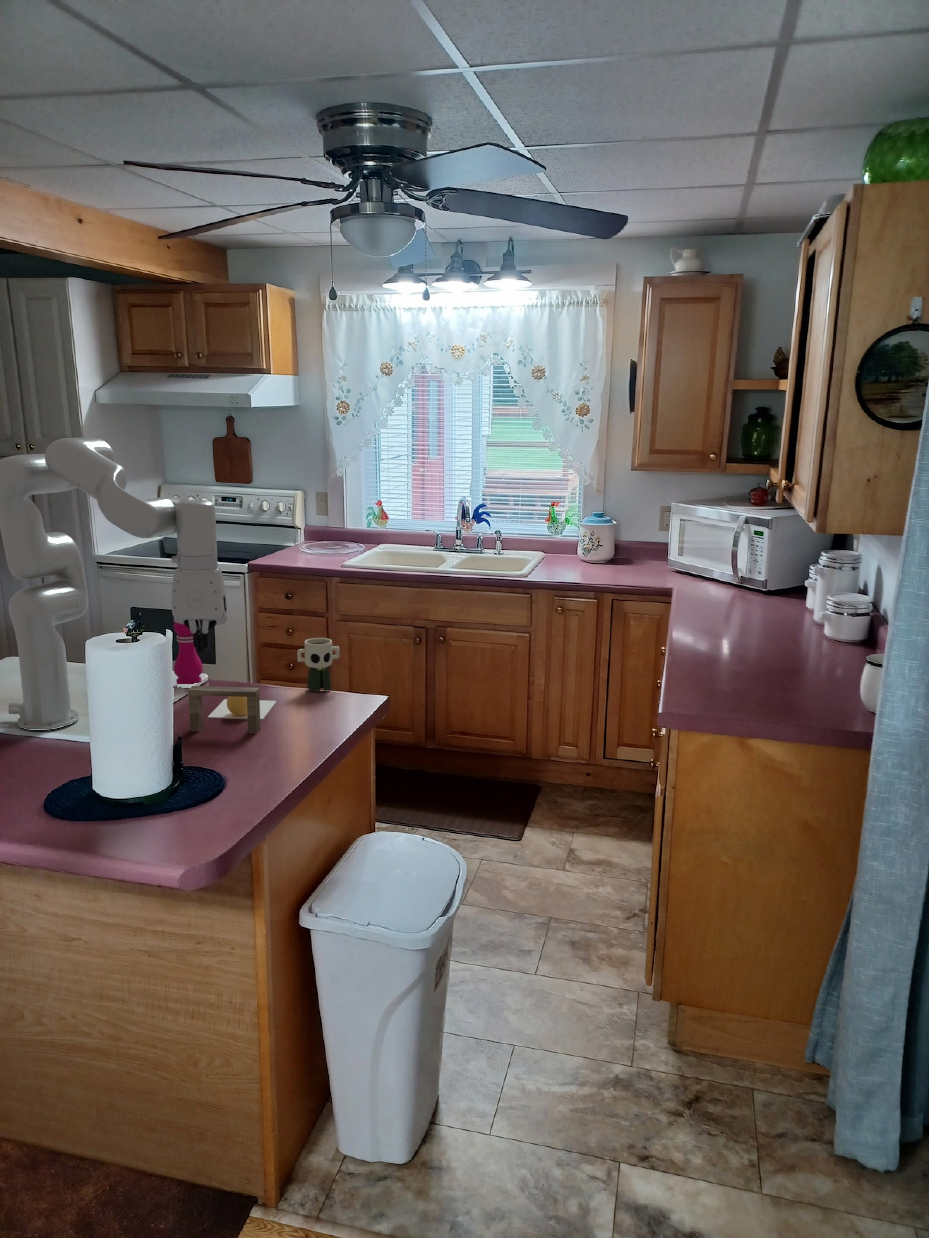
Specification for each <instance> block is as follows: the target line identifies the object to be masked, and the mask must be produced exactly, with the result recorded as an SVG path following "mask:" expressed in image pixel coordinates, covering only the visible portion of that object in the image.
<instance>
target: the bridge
mask: <svg viewBox="0 0 929 1238" xmlns="http://www.w3.org/2000/svg"><path fill="white" fill-rule="evenodd" d="M187 691H188V707H189V726H190V729H189V730H190V732H200V731H202V729H203V728H204V727H205V723H204V708H203V707H204V706H203V705H204V704H203V696H208V697H209V696H210V697H211V696H212V697H214V696H215V697H229V696H232V697H247V716H248V719H247V734H258V733H259V732H260V730H261V719H260V700H261V699H260V688H259V687H245V686H244V687H242V686H239V687H238V686H215V685H213V686H211V685H201V686H192V687H191V688H190V689H187Z"/></svg>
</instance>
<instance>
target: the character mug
mask: <svg viewBox="0 0 929 1238" xmlns="http://www.w3.org/2000/svg"><path fill="white" fill-rule="evenodd" d="M333 651H335V655H333ZM303 653H304V657H302V654H303ZM296 654H297V662H299V663H302V662H304V663H305V665H306V666H307V667H309V669H308V673H307V682H306V688H307V689H308V691H312V692H321V689H322V690H323V691H324V692H325V691H329V690H331V688H332V683H331V682H332V680H331V673H330V668H329V667H330V666H331V665H332V663H333V660H338V659H339V658H340V646H338V645H336V646H335V645H334V646H333V641H332V639H330V638H327V637H326V638H325V637H314V638H313V637H312V638H308V639H305V640H304V648H300V649H298V650H297V651H296Z"/></svg>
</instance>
